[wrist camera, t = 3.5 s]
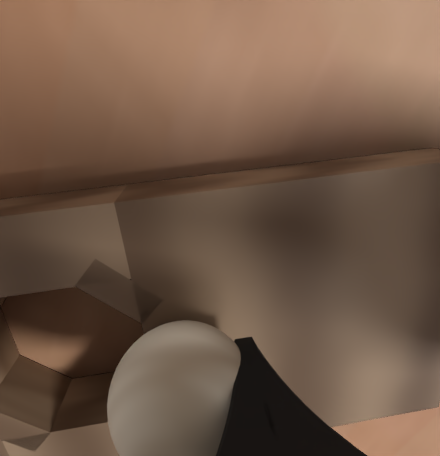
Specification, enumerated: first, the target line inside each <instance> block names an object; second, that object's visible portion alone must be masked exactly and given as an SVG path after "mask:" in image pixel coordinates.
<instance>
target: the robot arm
mask: <svg viewBox="0 0 440 456" xmlns="http://www.w3.org/2000/svg"><path fill="white" fill-rule="evenodd" d="M234 342H235V343H236V345H237V346H238V348H239V350H240V355H241V361H240V366H239V369H238V373H237V376H236V379H235V382H234V385H233V391H232V396H231V402H230V407H229V412H228V416H227V420H226V424H225V428H224V431H223V435H222V438H221V441H220V445H219V448H218V451H217V454H216V456H367V455H366V454H364V453H363V452H361V451H360V450H359V449H357V448H356V447H355V446H353V445H352V444H351V443H350V442H348V441H347V440H346V439H345V438H343V437H342V436H341V435H339V434H338V433H337V432H336V431H334V430H333V429H332V428H331V427H330V426H328V425H327V424H326V423H325V422H324V421H323V420H322V419H320V418H319V417H318V416H317V415H316V414H315V413H314V412H313V411H312V410H311V409H310V408H309V407H308V406H307V405H305V404H304V403H303V402H302V400H301V399H300V398H299V397H298V396H297V395H296V394H295V393H294V392H293V391H292V390H291V389H290V388H289V387H288V386H287V384H286V383H285V382H284V381H283V380H282V379H281V377H280V376H279V375H278V374H277V372H276V371H275V370H274V369H273V368H272V366H271V365H270V364H269V362H268V361H267V360H266V358H265V357H264V355H263V354H262V353H261V351H260V350H259V348H258V346H257V345H256V343H255V342H254V340H253V337H245V338H239V339H235V341H234Z"/></svg>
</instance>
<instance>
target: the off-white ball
mask: <svg viewBox="0 0 440 456" xmlns="http://www.w3.org/2000/svg"><path fill="white" fill-rule="evenodd" d="M240 361H241V355H240V350H239V348H238V346H237V345H236V343H235V342H234V341H233V340H232V339H231V338H230V337H228V336H227V335H226V334H225V333H223V332H222V331H220V330H219V329H217V328H215V327H213V326H211V325H208V324H206V323H202V322H198V321H189V320H182V321H174V322H169V323H166V324H163V325H160V326H158V327H156V328H154V329H152V330H150V331H148V332H147V333H145V334H144V335H143V336H141V337H140V338H139V339H138V340H137V341H136V342H135V343H133V345H132V346H131V347H130V348H129V349H128V350H127V352H126V353H125V354H124V356H123V357H122V359H121V361H120V362H119V364H118V366H117V368H116V370H115V373H114V375H113V378H112V381H111V384H110V388H109V394H108V402H107V416H108V425H109V430H110V434H111V438H112V440H113V443H114V445H115V448H116V450H117V452H118V454H119V455H120V456H216V454H217V451H218V448H219V445H220V441H221V438H222V435H223V431H224V428H225V424H226V420H227V416H228V412H229V407H230V402H231V396H232V391H233V385H234V382H235V379H236V376H237V373H238V369H239V366H240Z"/></svg>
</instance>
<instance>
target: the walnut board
mask: <svg viewBox="0 0 440 456" xmlns="http://www.w3.org/2000/svg"><path fill="white" fill-rule="evenodd" d="M71 287H77V288H79V289H80V290H82V291H84V292H86V293H88V294H89V295H91V296H93V297H95V298H96V299H98V300H100V301H102V302H104V303H105V304H107V305H109V306H111V307H113V308H114V309H116V310H118V311H120V312H121V313H123V314H125V315H127V316H129V317H130V318H132V319H134V320H136V321H138V322H139V323H141V324H142V329H143V333H144V334H145V333H147V332H148V331H150V330H152V329H154V328H156V327H158V326H160V325H163V324H166V323H169V322H174V321H182V320H189V321H198V322H202V323H206V324H208V325H211V326H213V327H215V328H217V329H219V330H220V331H222V332H223V333H225V334H226V335H227V336H228V337H230V338H231V339H232V340H233V341H235V339H239V338H245V337H253V340H254V342H255V343H256V345H257V346H258V348H259V350H260V351H261V353H262V354H263V355H264V357H265V358H266V360H267V361H268V362H269V364H270V365H271V366H272V368H273V369H274V370H275V371H276V372H277V374H278V375H279V376H280V377H281V379H282V380H283V381H284V382H285V383H286V384H287V386H288V387H289V388H290V389H291V390H292V391H293V392H294V393H295V394H296V395H297V396H298V397H299V398H300V399H301V400H302V402H303V403H304V404H305V405H307V406H308V407H309V408H310V409H311V410H312V411H313V412H314V413H315V414H316V415H317V416H318V417H319V418H320V419H322V420H323V421H324V422H325V423H326V424H327V425H328V426H330V427H335V426H340V425H346V424H351V423H356V422H362V421H367V420H372V419H378V418H383V417H388V416H394V415H399V414H404V413H410V412H415V411H421V410H426V409H431V408H437V407H439V403H440V149H435V148H427V149H418V150H410V151H401V152H393V153H385V154H376V155H368V156H360V157H351V158H343V159H335V160H326V161H318V162H310V163H301V164H293V165H284V166H276V167H268V168H259V169H251V170H243V171H234V172H226V173H218V174H209V175H201V176H193V177H184V178H176V179H167V180H159V181H151V182H142V183H134V184H126V185H117V186H109V187H101V188H92V189H84V190H76V191H67V192H59V193H51V194H42V195H34V196H25V197H17V198H9V199H0V306H1V304H2V303H3V302H4V300H5V299H6V297H8V296H15V295H22V294H29V293H36V292H43V291H50V290H57V289H64V288H71ZM114 373H115V372H111V373H105V374H99V375H93V376H87V377H81V378H75V379H71V378H69V377H67V376H64V375H62V374H60V373H58V372H56V371H54V370H51V369H49V368H47V367H45V366H43V365H41V364H38V363H36V362H34V361H32V360H30V359H27V358H25V357H23V356H21V355H20V354H19V352H18V349H17V347H16V345H15V342H14V340H13V337H12V335H11V332H10V330H9V328H8V325H7V323H6V320H5V318H4V315H3V313H2V311H1V308H0V456H120V455H119V454H118V452H117V450H116V448H115V445H114V443H113V440H112V438H111V434H110V430H109V425H108V416H107V402H108V394H109V388H110V384H111V381H112V378H113V375H114Z"/></svg>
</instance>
